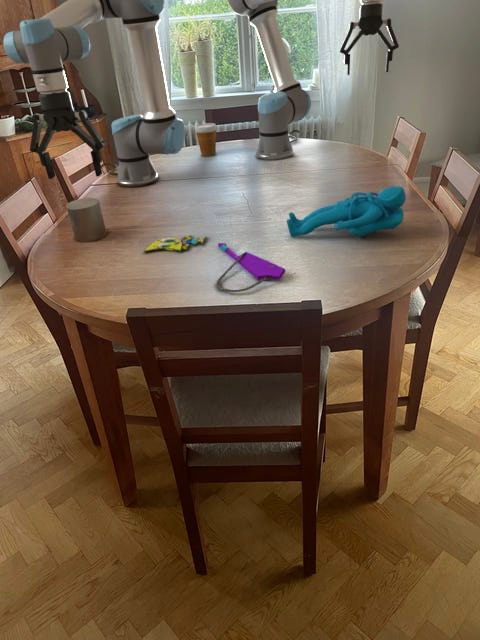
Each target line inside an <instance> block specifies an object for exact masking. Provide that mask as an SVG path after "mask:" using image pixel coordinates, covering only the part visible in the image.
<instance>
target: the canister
mask: <svg viewBox="0 0 480 640" xmlns="http://www.w3.org/2000/svg"><path fill="white" fill-rule="evenodd" d="M65 207H66V210H67V215H68V218H69V222H70V225H71V229H72V232H73V236H74V239H75V241H77V242H81V243H89V242H95V241H98V240H100V239H103V238H104V237H105V236H107V233H108V232H107V228H106V224H105V220H104V217H103V212H102V208H101V204H100V200H99V199H98V198H95V197H84V198H79V199H75V200H72V201H70V202H68V203H66V206H65Z"/></svg>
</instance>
